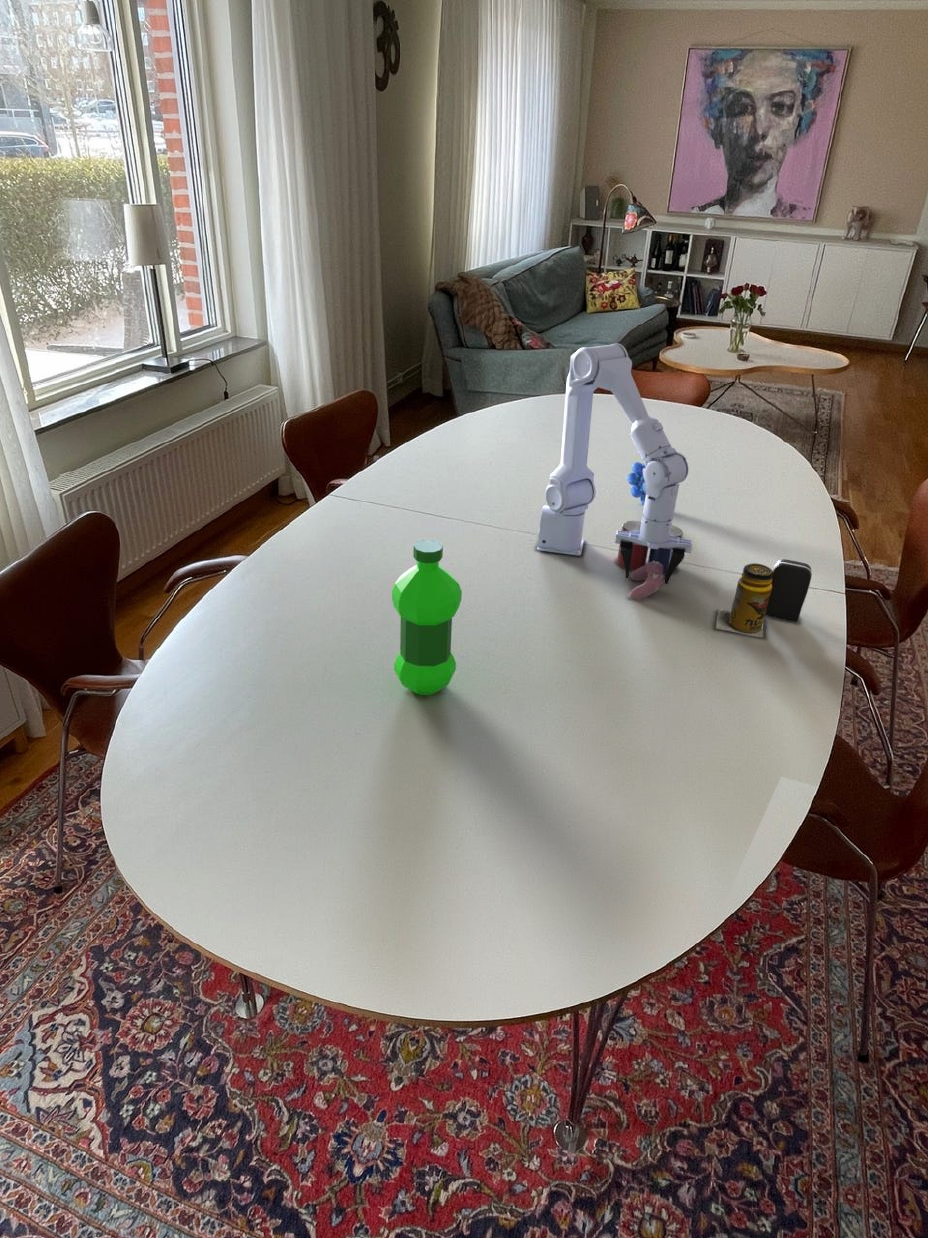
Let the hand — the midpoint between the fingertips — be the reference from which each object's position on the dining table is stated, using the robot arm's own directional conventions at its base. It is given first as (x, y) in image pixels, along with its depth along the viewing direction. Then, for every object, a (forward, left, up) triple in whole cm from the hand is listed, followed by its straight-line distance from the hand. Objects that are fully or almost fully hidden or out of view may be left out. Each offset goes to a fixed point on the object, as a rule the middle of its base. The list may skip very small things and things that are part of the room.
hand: (646, 579), depth 166 cm
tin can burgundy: (-3, +11, -2) cm, 12 cm away
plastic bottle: (-34, -45, -3) cm, 56 cm away
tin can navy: (+3, +11, -2) cm, 12 cm away
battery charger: (+26, -3, -3) cm, 26 cm away
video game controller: (0, 0, -3) cm, 3 cm away
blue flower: (-1, +44, -3) cm, 45 cm away
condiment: (+18, -9, -3) cm, 20 cm away
